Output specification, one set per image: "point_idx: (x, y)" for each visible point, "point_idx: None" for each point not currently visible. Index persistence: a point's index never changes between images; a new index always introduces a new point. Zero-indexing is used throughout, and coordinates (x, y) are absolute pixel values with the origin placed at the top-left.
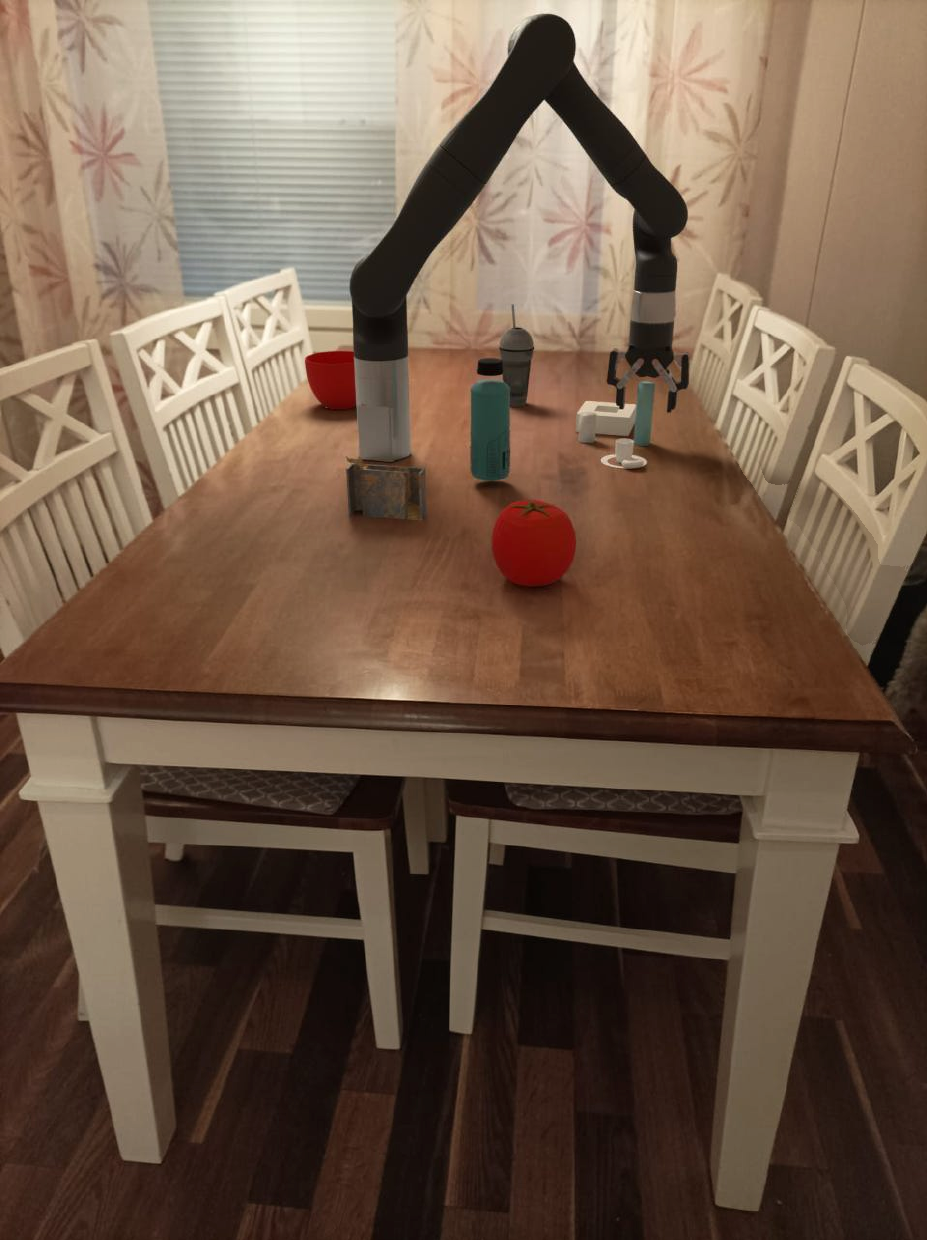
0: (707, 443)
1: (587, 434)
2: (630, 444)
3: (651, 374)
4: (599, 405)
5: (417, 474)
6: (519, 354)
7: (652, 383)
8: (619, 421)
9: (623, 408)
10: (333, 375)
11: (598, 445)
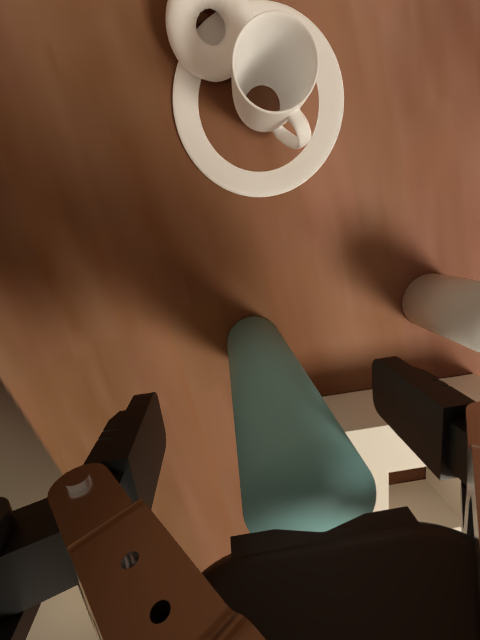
0: (61, 428)
1: (443, 278)
2: (239, 32)
3: (287, 555)
4: (459, 527)
5: None
6: None
7: (267, 523)
8: (361, 419)
9: (373, 378)
10: None
11: (382, 265)
